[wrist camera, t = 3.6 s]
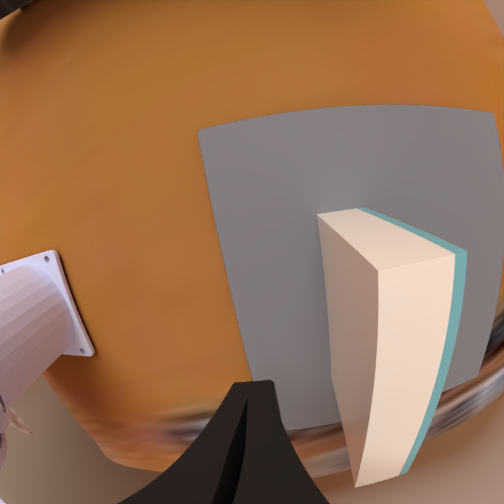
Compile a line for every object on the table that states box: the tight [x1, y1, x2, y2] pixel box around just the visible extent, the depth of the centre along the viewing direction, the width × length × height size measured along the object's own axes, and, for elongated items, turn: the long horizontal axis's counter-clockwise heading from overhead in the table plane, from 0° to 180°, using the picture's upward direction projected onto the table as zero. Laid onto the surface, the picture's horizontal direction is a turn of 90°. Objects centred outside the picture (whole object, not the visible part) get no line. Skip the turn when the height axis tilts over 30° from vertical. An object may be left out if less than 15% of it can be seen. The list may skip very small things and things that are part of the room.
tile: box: [317, 207, 467, 487], centre depth 10 cm, size 2×10×8 cm, turn 11°
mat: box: [197, 105, 504, 431], centre depth 14 cm, size 18×20×1 cm
